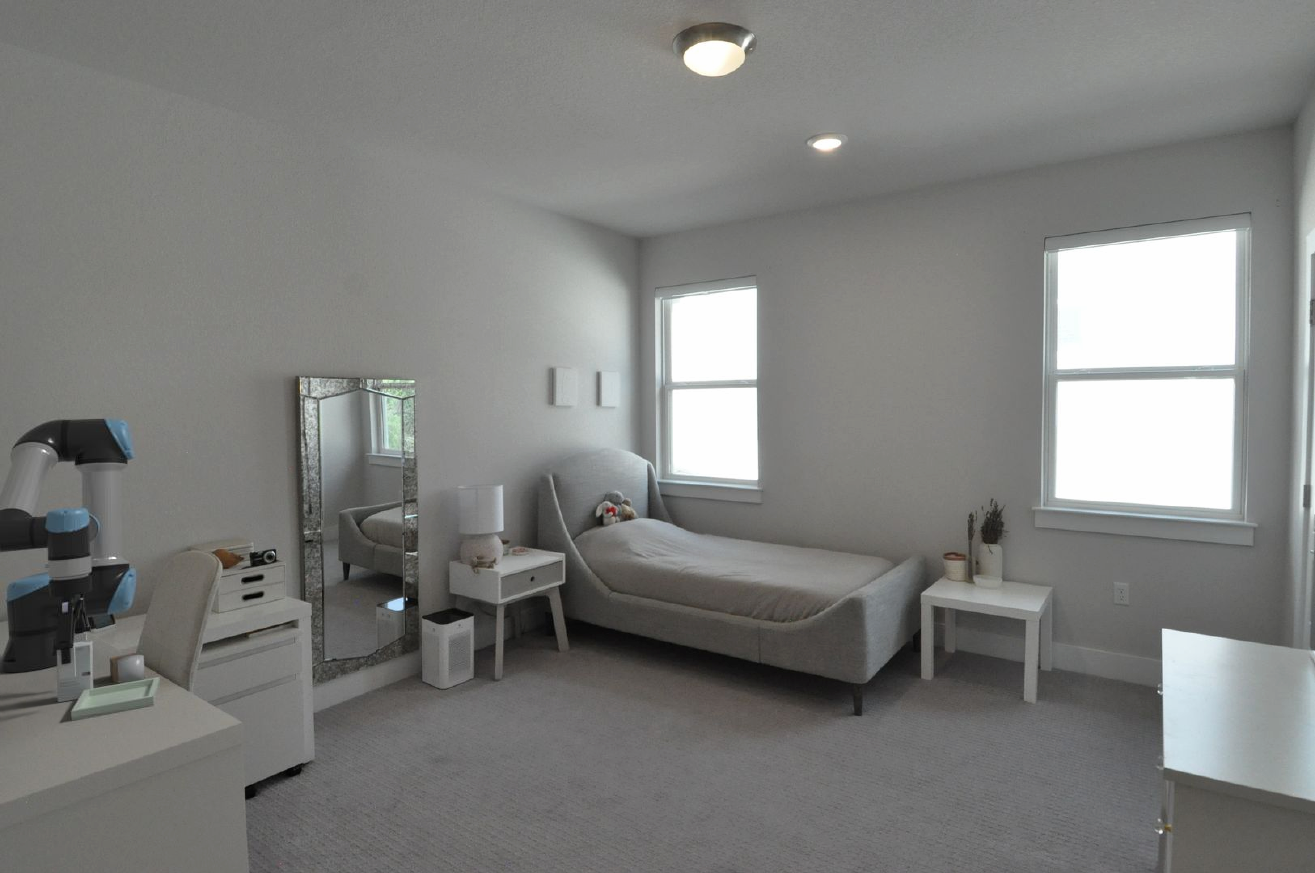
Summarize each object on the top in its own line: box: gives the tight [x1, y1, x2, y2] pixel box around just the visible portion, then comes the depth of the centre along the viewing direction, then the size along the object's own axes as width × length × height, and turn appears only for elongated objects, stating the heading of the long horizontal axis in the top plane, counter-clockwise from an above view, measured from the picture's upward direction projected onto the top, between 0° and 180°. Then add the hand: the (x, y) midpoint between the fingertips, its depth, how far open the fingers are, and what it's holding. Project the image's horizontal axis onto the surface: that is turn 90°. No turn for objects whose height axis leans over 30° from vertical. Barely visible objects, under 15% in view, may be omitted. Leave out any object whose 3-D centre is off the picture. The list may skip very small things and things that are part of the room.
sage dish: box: [70, 676, 161, 722], centre depth 156 cm, size 14×14×2 cm
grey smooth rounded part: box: [118, 654, 146, 684], centre depth 168 cm, size 5×5×6 cm
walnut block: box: [109, 652, 137, 684], centre depth 172 cm, size 5×5×5 cm
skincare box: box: [56, 640, 94, 703], centre depth 160 cm, size 6×4×12 cm
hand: (74, 669), depth 160 cm, fingers open, 13 cm apart
